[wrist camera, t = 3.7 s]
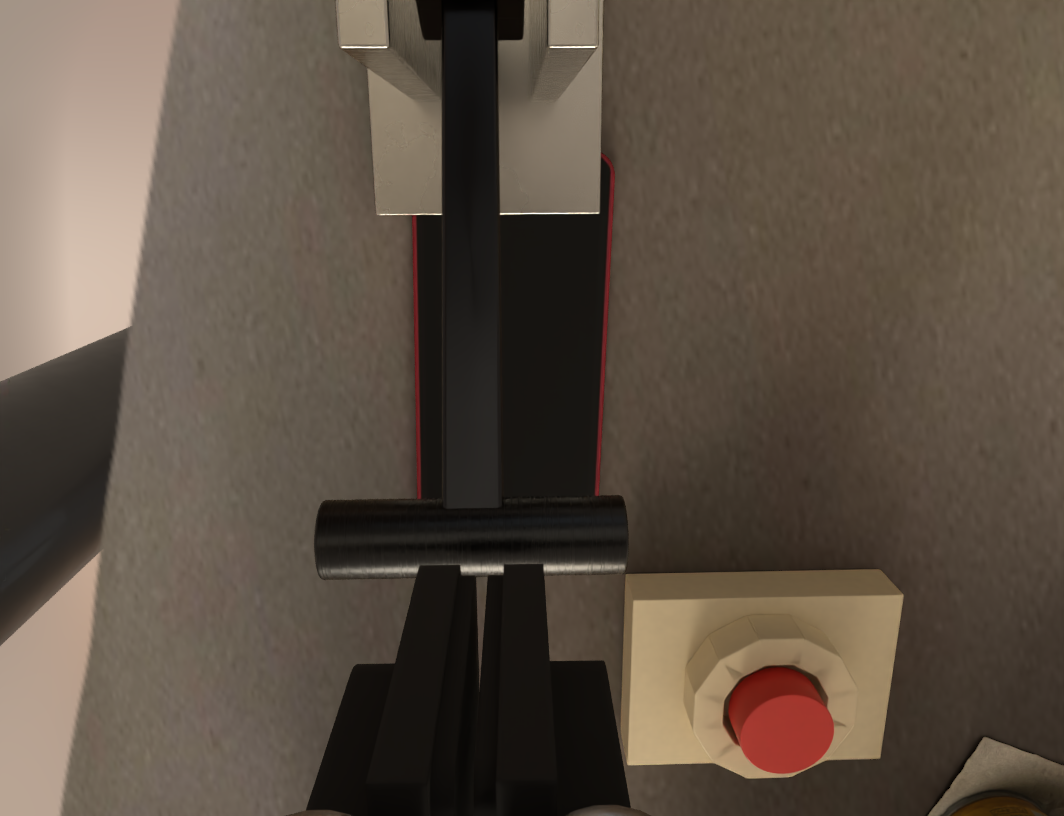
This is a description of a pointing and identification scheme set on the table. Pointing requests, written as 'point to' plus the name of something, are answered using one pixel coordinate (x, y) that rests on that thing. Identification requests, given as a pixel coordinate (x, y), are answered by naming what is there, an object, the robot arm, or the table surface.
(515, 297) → the smartphone
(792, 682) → the button
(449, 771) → the robot arm
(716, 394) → the table surface
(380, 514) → the lever
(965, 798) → the condiment
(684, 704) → the control block
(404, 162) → the bracket
